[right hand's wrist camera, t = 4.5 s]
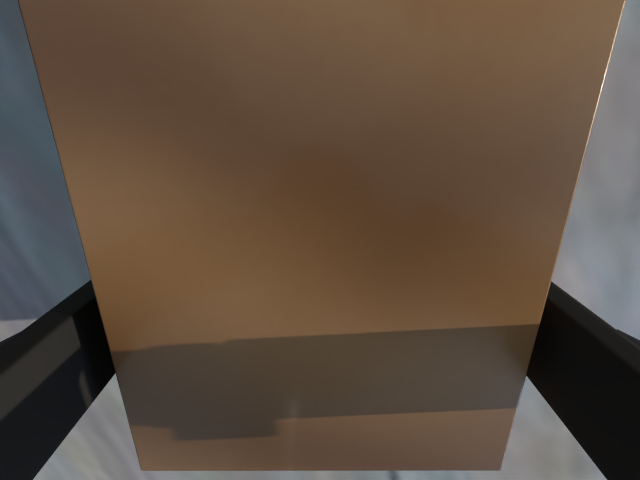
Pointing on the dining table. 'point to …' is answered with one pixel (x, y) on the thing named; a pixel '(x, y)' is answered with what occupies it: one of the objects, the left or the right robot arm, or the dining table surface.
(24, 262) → the dining table surface
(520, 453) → the dining table surface
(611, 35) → the cabinet
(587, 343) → the right robot arm
